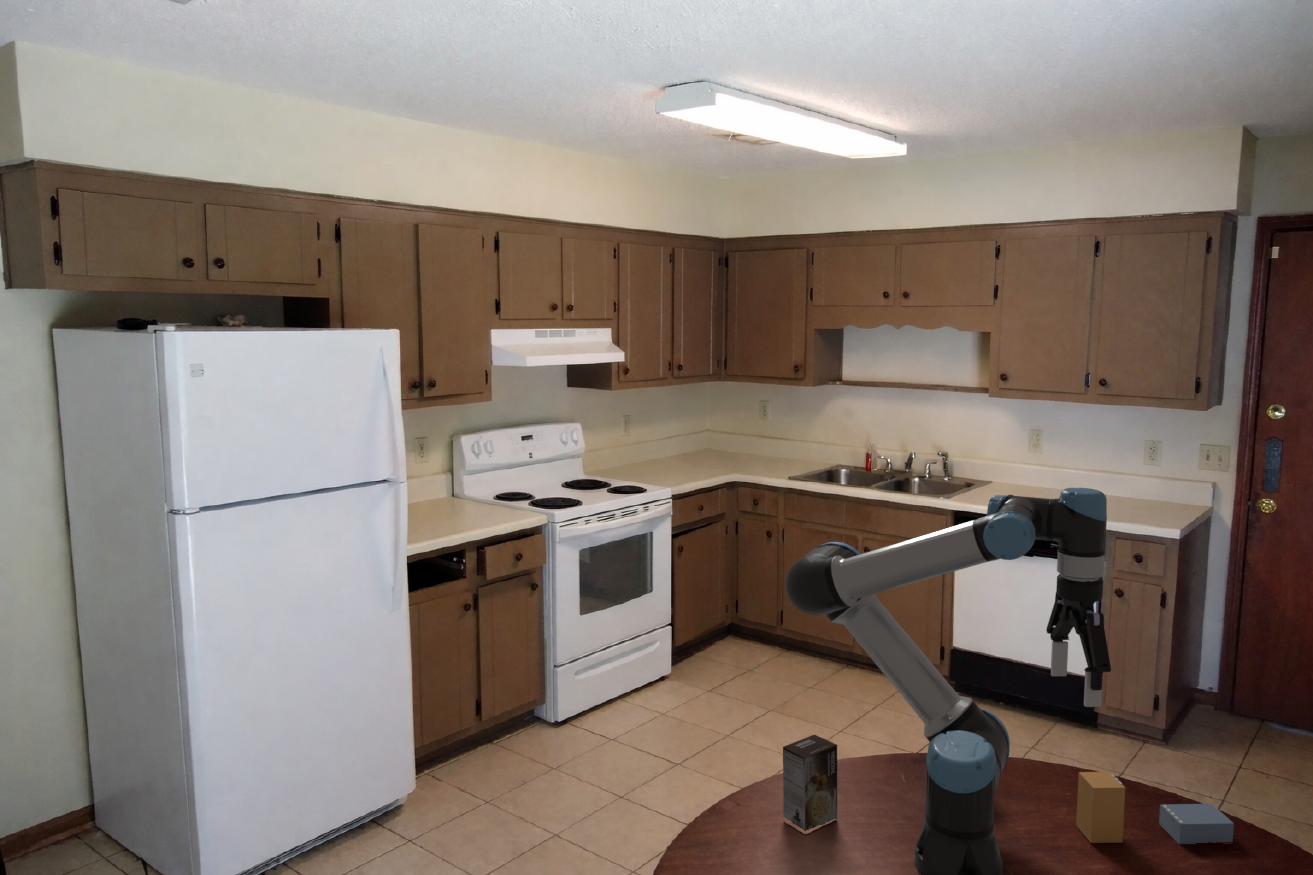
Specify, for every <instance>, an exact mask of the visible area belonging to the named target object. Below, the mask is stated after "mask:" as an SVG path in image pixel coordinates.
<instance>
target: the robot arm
mask: <svg viewBox="0 0 1313 875" xmlns="http://www.w3.org/2000/svg"><path fill="white" fill-rule="evenodd" d="M1107 500H1108V499H1107V496H1106V494H1105V493H1103V491H1101V490H1098V489H1095V488H1088V487H1067V488H1064V489H1062V490H1061V491H1060V495H1059V497H1058V498H1045V497H1035V496H1034V497H1032V496H1021V495H1014V494H1007V495H1005V494H1004V495H1002V494H996V495H992V496H991V497H990V498H989V500H988V504H987V509H986V510H987V511H986V516H983V517H980V518H976V519H973V520H969V521H967V522H963V523H960V524H957V525H952V526H950V527H946V528H943V529H940V530H937V531H933V532H931V533H927V534H923V535H920V536H917V537H914V538H911V539H907V540H903V541H901V542H897V543H894V544H890V545H887V546H884V547H880V548H877V549H874V550H871V551H868V552H867V551H866V552H864V553H860V552H859V551H858V550H857V549H856V548H855V547H853V546H852V545H849V544H847V543H845V542H841V541H831V542H825V543H823V544H820V545H817V547H815V548H814V549H813V548H812V550H811V551H809V552H808V553H806V554H805V555H804V556H803V557H800V558H799V559H798V560H796V561H795V562H794V563H793V564H792V565H791V566H790V568H789V569H788V571H787V574H786V576H785V577H786V578H785V581H784V582H785V584H784V587H785V592H786V596H787V598H788V601H789V602H790V603H791V605H792V606H793V607H794V608H795V609H796V610H797V611H799V612H800V613H803V614H805V615H806V616H807V615H808V616H811V617H821V616H826V617H827V618H828V619H829V621H831V623H833V624H839V625H843V626H844V627H845V629H846V630H847V631H848V632H849V633H850V634H851V636H853V638H854V639H855V640H856V642H857V643H858V644H859V645H860V647H861V649H863V650H864V651H865V653H866V654H867V655H868V656H869V657H870V659H871V661H873V663H874V664H875V665H876V667H878V669H879V670H880V671H881V672H882V673H883V675H884V676H885V677H886V678H887V679H888V681H889V682H890V683H891V684H892V686H893V687H894V688H895V689H896V691H897V692H898V693H899V694H900V696H902V698H903V699H904V700H905V701H906V703H907V704H908V705H909V706H910V707H911V709H912V710H913V711H914V713H915V714H917V716H918V717H919V719H920V720H921V721H922V722H923V724H924V726H923V735H924V737H925V739H927V741H928V742H929V744H928V748H927V752H926V756H925V765H926V789H925V790H926V791H925V792H926V793H925V795H926V796H925V797H926V798H925V822H924V824H923V827H922V829H921V831H920V834H919V835H918V836H919V837H918V839H917V842H916V844H915V848H914V863H915V864H914V865H915V866H916V868H917V870H918V872H920V874H921V875H1003V866H1004V865H1003V863H1004V862H1003V858H1002V855H1001V852H1000V848H999V846H998V845H999V844H998V842H997V838H996V835H995V832H994V822H995V800H996V799H995V795H996V790H997V787H998V784H999V781H1000V779H1001V776H1002V774H1003V770H1004V768H1005V766H1006V765H1007V763H1008V760H1009V757H1010V749H1011V748H1010V746H1011V745H1010V744H1011V742H1010V736H1009V732H1008V730H1007V728H1006V726H1005V724H1004V723H1003V722H1002V720H1001V719H1000V718H999V717H998V716H997V715H996V714H994V713H993V712H991V711H990V710H987V709H982V708H981V707H979V705H977V704H976V702H975V701H974V700H973V698H972V697H969V696H967V697H966V696H963V695H962V696H961V695H959V694H958V693H957V692H956V691H955V689H954V688H953V687H952V686H951V684H950V683H949V682H948V681H947V679H946V678H944V676H943V675H942V674H941V672H940V671H939V670H938V669H937V668H936V667H935V665H934V664H933V663H932V662H931V661H930V659H928V657H927V656H926V655H925V653H924V652H923V651H922V650H921V649H920V647H919V646H918V645H917V644H916V643H915V642H914V640H913V639H912V637H910V636H909V634H908V633H907V632H906V631H905V629H904V628H903V627H902V626H901V625H900V623H899V622H898V621H897V620H896V619H895V617H893V616H892V614H891V613H890V612H889V610H888V609H887V608H886V607H885V605H884V604H883V603H881V601H880V600H879V598H878V596H877V594H879V593H882V592H886V591H889V590H893V589H897V588H901V587H904V586H907V585H912V584H914V583H918V582H922V581H924V580H928V579H932V578H936V577H939V576H942V575H947V574H949V573H953V572H957V571H960V570H964V569H967V568H971V567H974V566H978V565H981V564H984V563H988V562H992V561H997V560H1005V561H1006V560H1007V561H1012V560H1016V559H1019V558H1021V557H1023V556H1024V555H1026V554H1027V553H1028V552H1029V551H1030V550H1031V549H1032V547H1033V545H1034V544H1035V542H1036V540H1039V541H1040V540H1043V541H1051V542H1052V541H1054V542H1057V543H1058V546H1057V557H1056V558H1057V561H1056V562H1057V564H1056V572H1057V574H1058V575H1057V576H1056V590H1055V591H1056V592H1055V597H1054V604H1053V606H1052V610H1051V613H1050V617H1049V619H1048V623H1047V626H1046V633H1047V634H1048V635H1049V636H1050V640H1051V654H1050V655H1051V660H1050V661H1051V663H1050V676H1052V677H1067V675H1068V658H1069V657H1068V655H1069V642H1068V641H1070V637H1069V635H1070V633H1071V631H1072V630H1073V628H1074V631H1075V633H1076V635H1078V636H1079V639H1080V642H1081V647H1082V650H1083V654H1084V657H1085V661H1086V665H1087V666H1086V667H1085V668H1084V669H1083V671H1084V672H1085V673H1084V692H1083V706H1084V707H1086V708H1094V707H1095V708H1097V707H1099V708H1100V707H1102V701H1103V682H1104V681H1103V680H1104V678H1103V677H1104V673H1111V671H1112V667H1111V661H1110V655H1109V650H1108V649H1109V648H1108V641H1107V637H1106V632H1105V615H1104V613H1103V612H1095V606H1094V605H1095V603H1096V602H1099V601H1101V600H1102V599H1103V597H1104V580H1103V578H1102V577H1103V576H1104V572H1105V571H1104V567H1105V562H1106V561H1107V558H1106V557H1105V552H1106V537H1107V524H1108V523H1107V521H1108V520H1107V519H1108V516H1107V515H1108V514H1107V513H1108V511H1107V510H1108V508H1107V506H1108V505H1107V503H1108V502H1107Z"/></svg>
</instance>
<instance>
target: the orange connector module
mask: <svg viewBox="0 0 1313 875" xmlns="http://www.w3.org/2000/svg"><path fill="white" fill-rule="evenodd" d="M1077 777H1078V781H1077V800H1076V802H1077V803H1076V822H1075V824H1076V825H1075V826H1076V827H1077V829H1079V830H1080V832H1081V834H1083V836H1084V837H1085V838H1086V839H1087V840H1088V841H1089V844H1098V843H1099V844H1104V843H1107V844H1108V843H1111V844H1112V843H1123V841H1124V840H1123V838H1124V837H1123V836H1124V822H1125V819H1124V818H1125V805H1126V804H1125V803H1126V802H1125V801H1126V787H1125V785H1124V784H1123V783H1122V782H1121V780H1119V778H1118V777H1116V776H1115V775H1114V773H1112V772H1111V771H1079V772H1078V776H1077Z"/></svg>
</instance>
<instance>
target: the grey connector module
mask: <svg viewBox="0 0 1313 875" xmlns="http://www.w3.org/2000/svg"><path fill="white" fill-rule="evenodd" d="M1158 819H1159V820H1158V821H1159V822H1158V823H1159V826H1161V827H1162V828H1163V829H1164V830H1165V831H1166V832H1167V834H1169V835H1170V837H1171V838H1173V839H1174V841H1175V842H1176V843H1177V844H1178V845H1197V844H1196V843H1208V842H1213V843H1216V842H1234V841H1233V840H1234V828H1235V823H1234V822H1233V821H1232V820H1231V819H1230V818H1229V817H1228V816H1226V815H1225V814H1224V813H1223V812H1222V811H1221V810H1219V808H1217V807H1216V806H1215V805H1214V804H1213V803H1177V804H1176V803H1175V804H1173V803H1172V804H1171V803H1169V804H1159V818H1158Z"/></svg>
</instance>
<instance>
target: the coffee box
mask: <svg viewBox="0 0 1313 875" xmlns="http://www.w3.org/2000/svg"><path fill="white" fill-rule="evenodd" d="M782 774H783V775H782V785H783V786H782V787H783V788H782V790H783V791H782V792H783V793H782V794H783V795H782V798H783V800H782V801H783V802H782V804H783V805H782V806H783V810H782V811H783V815H782V817H785V818H786V819H788V820H790V821H791V822H792V823H793V824H795V825H797V826H798V827H800V828H802V829H803V830H804V831H806V830H809V829H811V828H814V827H816V826H818V825H823V824H825V823H826V822H829V821H831V820H833V819H837V820H838V744H837V743H834V742H833V741H830V740H828V739H826V738H823V737H821V736H818V734H812V735H810V736H807V737H804V738H802V739H800V740H797V741H794V742H792V743H789V744H787V745H785V746H782Z"/></svg>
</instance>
